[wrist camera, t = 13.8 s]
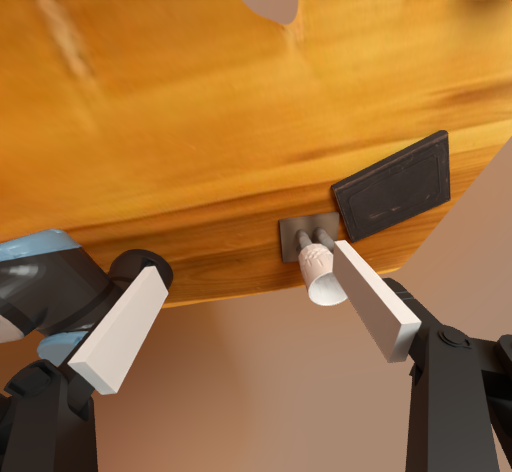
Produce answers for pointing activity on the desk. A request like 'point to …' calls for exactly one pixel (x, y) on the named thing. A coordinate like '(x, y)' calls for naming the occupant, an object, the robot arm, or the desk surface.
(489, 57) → the desk surface
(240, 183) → the desk surface
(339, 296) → the white cup
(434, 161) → the hardcover book
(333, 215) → the peg stand
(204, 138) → the desk surface
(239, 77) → the desk surface
